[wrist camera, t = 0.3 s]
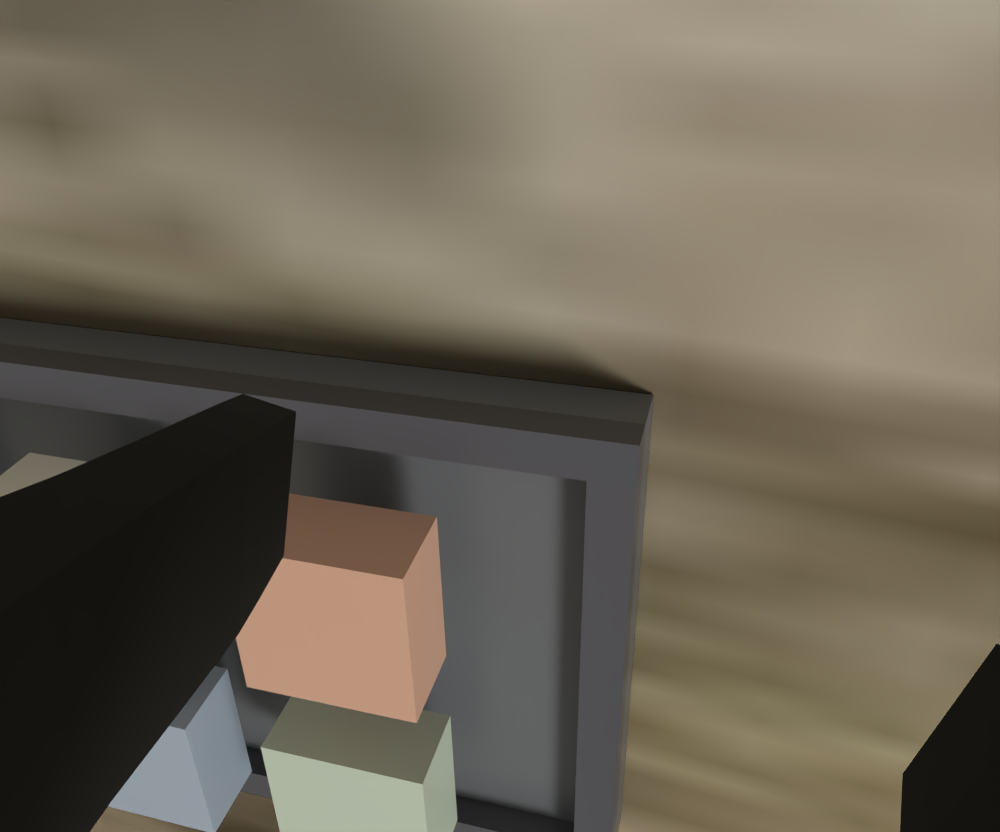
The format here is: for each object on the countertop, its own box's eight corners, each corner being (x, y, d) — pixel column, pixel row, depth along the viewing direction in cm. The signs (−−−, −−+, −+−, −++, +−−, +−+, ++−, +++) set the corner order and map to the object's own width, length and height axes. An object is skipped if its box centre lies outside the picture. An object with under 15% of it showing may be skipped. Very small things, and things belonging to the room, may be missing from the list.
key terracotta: (445, 655, 21) (416, 723, 20) (288, 624, 22) (246, 687, 21) (436, 516, 19) (403, 579, 18) (262, 489, 20) (215, 546, 19)
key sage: (457, 819, 25) (432, 889, 23) (318, 786, 26) (284, 851, 24) (450, 715, 22) (422, 784, 21) (298, 683, 23) (260, 747, 22)
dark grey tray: (620, 817, 27) (608, 881, 25) (82, 695, 31) (42, 743, 29) (653, 394, 20) (639, 445, 18) (-56, 311, 24) (-120, 345, 22)
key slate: (252, 771, 26) (214, 834, 24) (126, 741, 27) (83, 800, 25) (227, 668, 24) (185, 729, 22) (93, 640, 25) (42, 696, 23)
